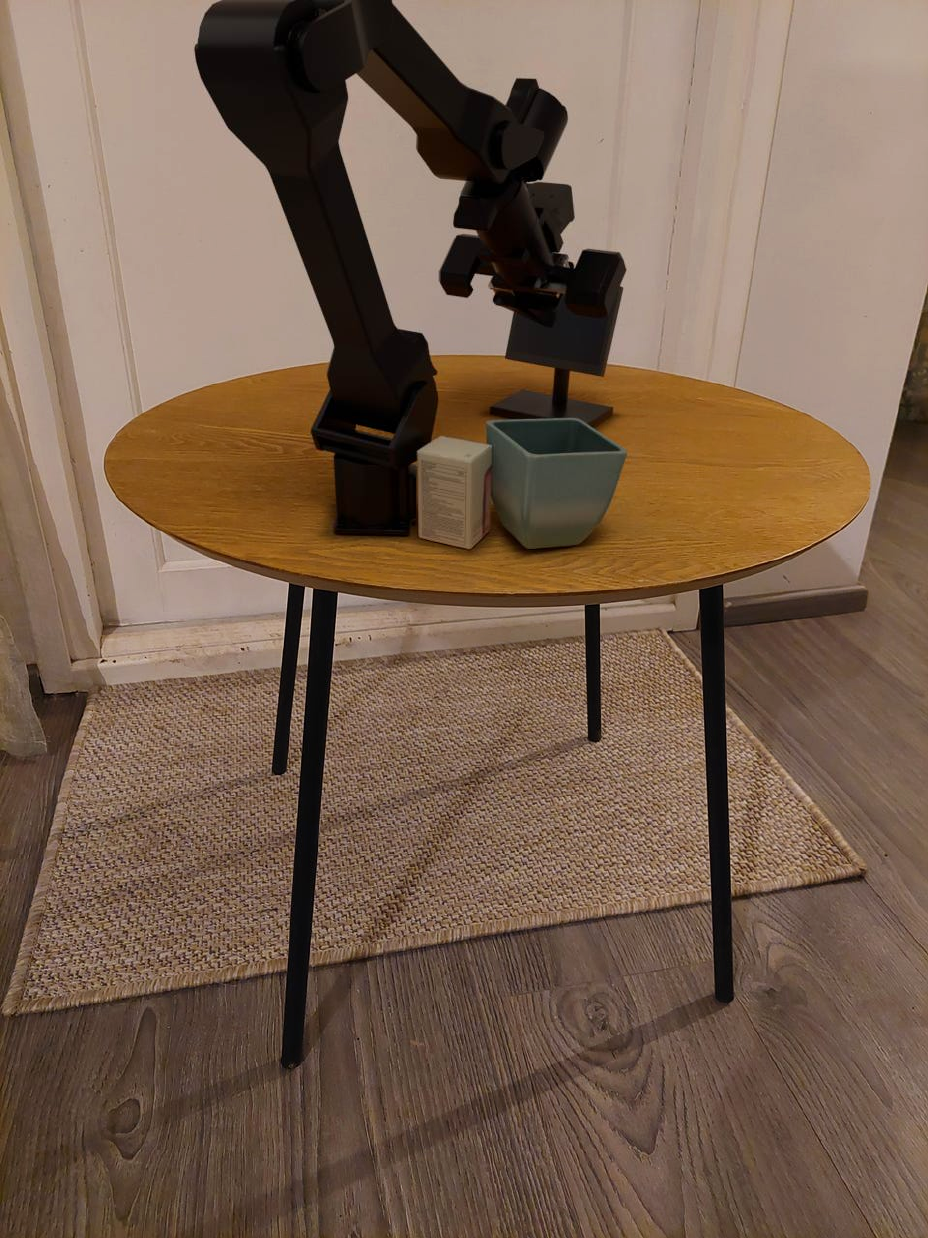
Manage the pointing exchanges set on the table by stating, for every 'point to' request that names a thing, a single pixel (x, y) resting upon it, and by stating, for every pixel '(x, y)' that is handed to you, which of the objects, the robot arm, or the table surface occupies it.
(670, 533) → the table surface
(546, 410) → the monitor stand
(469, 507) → the small box
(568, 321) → the monitor screen
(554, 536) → the flower pot
